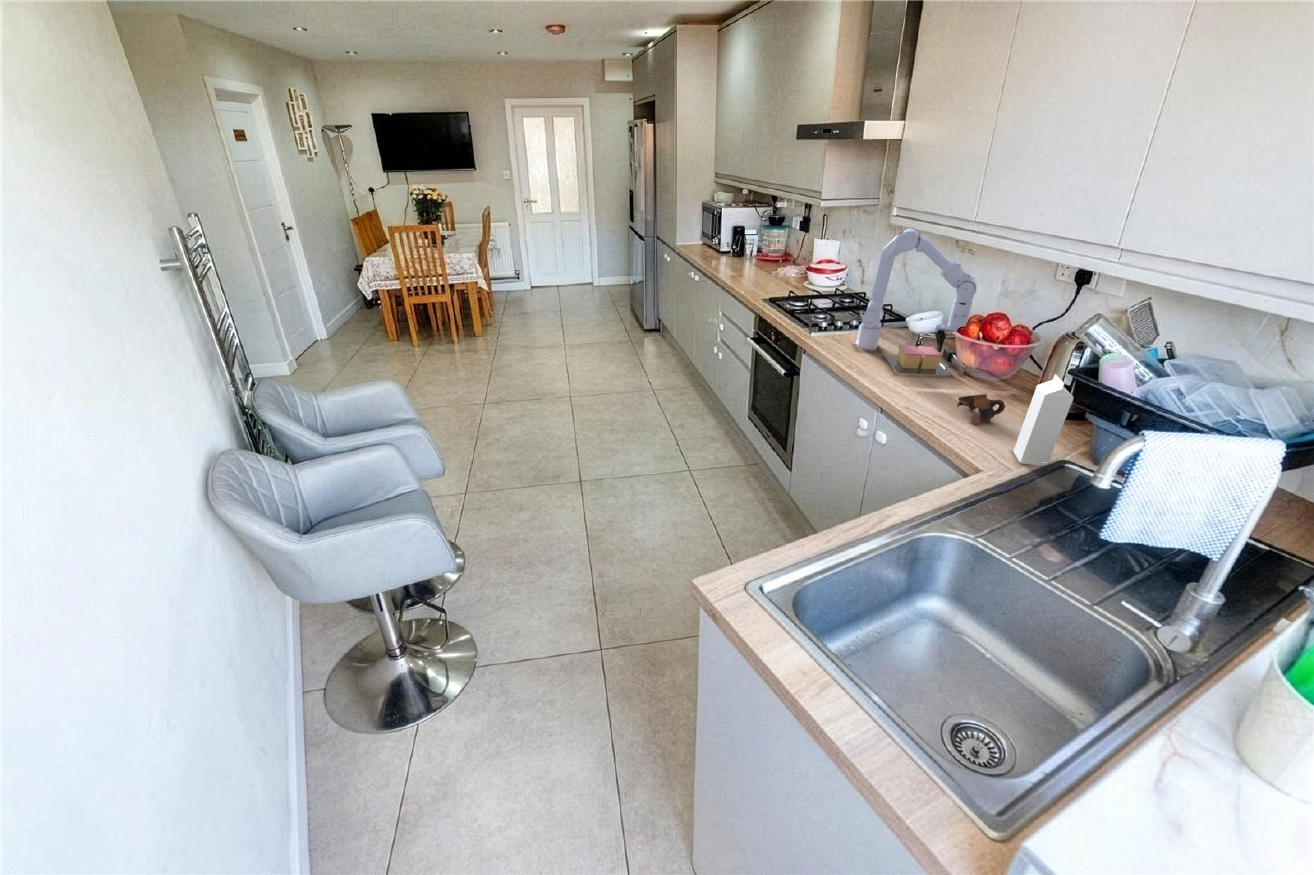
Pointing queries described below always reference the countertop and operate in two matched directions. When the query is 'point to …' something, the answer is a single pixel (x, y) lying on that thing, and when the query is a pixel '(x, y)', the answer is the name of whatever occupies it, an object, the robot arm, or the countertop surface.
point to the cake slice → (928, 357)
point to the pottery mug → (981, 407)
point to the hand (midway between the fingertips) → (949, 351)
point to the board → (898, 368)
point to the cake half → (908, 357)
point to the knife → (953, 359)
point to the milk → (1043, 422)
